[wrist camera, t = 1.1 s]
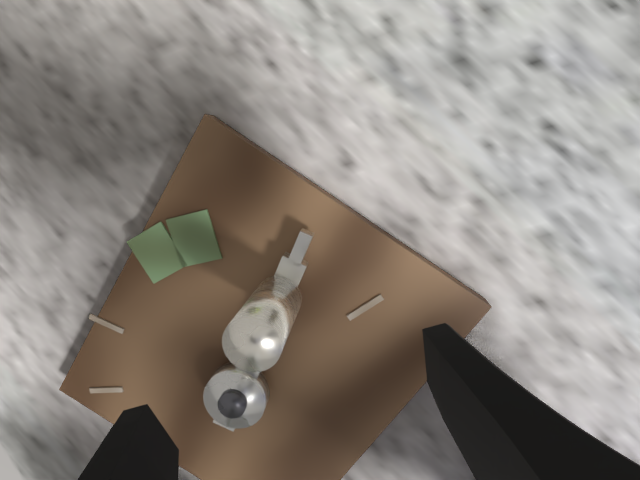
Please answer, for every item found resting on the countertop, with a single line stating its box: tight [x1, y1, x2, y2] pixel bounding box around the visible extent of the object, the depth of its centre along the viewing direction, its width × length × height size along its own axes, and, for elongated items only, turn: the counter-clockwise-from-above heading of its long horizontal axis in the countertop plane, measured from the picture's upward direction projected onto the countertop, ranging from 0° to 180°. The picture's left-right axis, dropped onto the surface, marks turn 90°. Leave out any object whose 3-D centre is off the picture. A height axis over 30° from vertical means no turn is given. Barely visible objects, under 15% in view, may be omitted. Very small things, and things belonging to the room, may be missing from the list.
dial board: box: [59, 114, 491, 480], centre depth 21 cm, size 16×18×1 cm
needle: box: [203, 228, 314, 432], centre depth 17 cm, size 11×3×5 cm, turn 157°
